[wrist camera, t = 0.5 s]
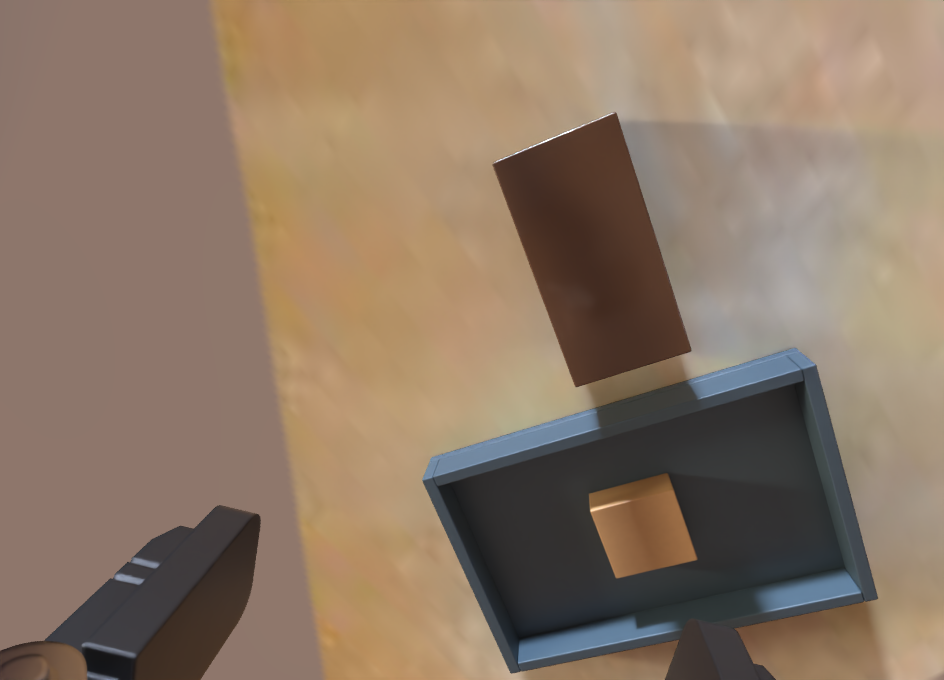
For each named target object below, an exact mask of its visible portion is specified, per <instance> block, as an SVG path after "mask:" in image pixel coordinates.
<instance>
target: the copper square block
mask: <svg viewBox="0 0 944 680" xmlns="http://www.w3.org/2000/svg"><path fill="white" fill-rule="evenodd" d="M589 502H590V512H591V515H592V517H593V520H594V522H595V525H596V528H597V530H598V533H599V535H600V538H601V541H602V543H603V546H604V548H605V551H606V553H607V556H608V559H609V561H610V564H611V566H612V569H613V572H614V574H615V577H616V578H622V577H626V576H630V575H635V574H639V573H643V572H647V571H652V570H656V569H660V568H665V567H669V566H673V565H678V564H682V563H686V562H691V561H695V560H697V555H696V553H695V550H694V547H693V544H692V541H691V538H690V535H689V532H688V529H687V526H686V524H685V521H684V518H683V515H682V512H681V509H680V506H679V503H678V500H677V498H676V495H675V492H674V489H673V486H672V483H671V480H670V477H669V474H668V473H664V474H661V475H657V476H653V477H649V478H646V479H642V480H638V481H635V482H631V483H627V484H623V485H620V486H616V487H612V488H608V489H605V490H601V491H597V492H594V493H590V494H589Z"/></svg>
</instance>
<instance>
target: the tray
mask: <svg viewBox="0 0 944 680" xmlns="http://www.w3.org/2000/svg"><path fill="white" fill-rule="evenodd" d="M664 473H668V474H669V477H670V480H671V483H672V486H673V489H674V492H675V495H676V498H677V500H678V503H679V506H680V509H681V512H682V515H683V518H684V521H685V524H686V526H687V529H688V532H689V535H690V538H691V541H692V544H693V547H694V550H695V553H696V555H697V560H695V561H691V562H686V563H682V564H678V565H673V566H669V567H665V568H660V569H656V570H652V571H647V572H643V573H639V574H635V575H630V576H626V577H622V578H616V577H615V574H614V572H613V569H612V566H611V564H610V561H609V559H608V556H607V553H606V551H605V548H604V546H603V543H602V541H601V538H600V535H599V533H598V530H597V528H596V525H595V522H594V520H593V517H592V515H591V512H590V502H589V494H590V493H594V492H597V491H601V490H605V489H608V488H612V487H616V486H620V485H623V484H627V483H631V482H635V481H638V480H642V479H646V478H649V477H653V476H657V475H661V474H664ZM422 481H423V483H424V485H425V487H426V490H427V492H428V494H429V496H430V498H431V501H432V503H433V505H434V507H435V509H436V511H437V514H438V516H439V518H440V520H441V522H442V525H443V527H444V529H445V531H446V533H447V535H448V538H449V540H450V542H451V544H452V546H453V549H454V551H455V553H456V555H457V557H458V559H459V562H460V564H461V566H462V568H463V570H464V573H465V575H466V577H467V579H468V581H469V584H470V586H471V588H472V590H473V592H474V594H475V597H476V599H477V601H478V603H479V605H480V608H481V610H482V612H483V614H484V616H485V618H486V621H487V623H488V625H489V627H490V629H491V632H492V634H493V636H494V638H495V640H496V642H497V645H498V647H499V649H500V651H501V653H502V656H503V658H504V660H505V662H506V664H507V666H508V669H509V671H510V673H517V672H520V671H527V670H532V669H537V668H541V667H546V666H551V665H556V664H561V663H566V662H571V661H576V660H581V659H586V658H591V657H596V656H601V655H606V654H610V653H615V652H620V651H625V650H630V649H635V648H640V647H645V646H650V645H655V644H660V643H665V642H670V641H674V640H679V639H680V637H681V634H682V631H683V628H684V626H685V624H686V622H687V621H688V620H689V619H692V618H693V619H697V620H702V621H706V622H710V623H714V624H719V625H723V626H727V627H731V628H739V627H743V626H748V625H753V624H758V623H763V622H768V621H773V620H778V619H783V618H788V617H793V616H798V615H803V614H807V613H812V612H817V611H822V610H827V609H832V608H837V607H842V606H847V605H852V604H857V603H862V602H864V601H871V600H876V599H878V596H877V592H876V589H875V585H874V581H873V577H872V573H871V570H870V566H869V562H868V558H867V555H866V551H865V547H864V543H863V540H862V536H861V532H860V528H859V525H858V521H857V517H856V513H855V509H854V506H853V502H852V498H851V494H850V491H849V487H848V483H847V479H846V476H845V472H844V468H843V464H842V460H841V457H840V453H839V449H838V445H837V442H836V438H835V434H834V430H833V427H832V423H831V419H830V415H829V411H828V408H827V404H826V400H825V396H824V393H823V389H822V385H821V381H820V378H819V374H818V370H817V366H816V364H814V363H813V362H812V361H811V360H810V359H808V358H807V357H806V356H805V355H804V354H802V353H801V352H800V351H799V350H798V349H796V348H793V349H790V350H786V351H783V352H780V353H776V354H773V355H770V356H767V357H763V358H760V359H757V360H753V361H750V362H747V363H743V364H740V365H737V366H733V367H730V368H727V369H723V370H720V371H717V372H713V373H710V374H707V375H704V376H700V377H697V378H694V379H690V380H687V381H684V382H680V383H677V384H674V385H670V386H667V387H664V388H660V389H657V390H654V391H650V392H647V393H644V394H640V395H637V396H634V397H631V398H627V399H624V400H621V401H617V402H614V403H611V404H607V405H604V406H601V407H597V408H594V409H591V410H587V411H584V412H581V413H577V414H574V415H571V416H568V417H564V418H561V419H558V420H554V421H551V422H548V423H544V424H541V425H538V426H534V427H531V428H528V429H524V430H521V431H518V432H514V433H511V434H508V435H505V436H501V437H498V438H495V439H491V440H488V441H485V442H481V443H478V444H475V445H471V446H468V447H465V448H461V449H458V450H455V451H451V452H448V453H445V454H442V455H438V456H435V457H432V458H431V459H430V463H429V465H428V467H427V469H426V472H425V474H424V477H423V479H422Z"/></svg>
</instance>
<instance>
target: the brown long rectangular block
mask: <svg viewBox="0 0 944 680" xmlns="http://www.w3.org/2000/svg"><path fill="white" fill-rule="evenodd" d="M492 165H493V167H494V170H495V173H496V175H497V178H498V181H499V184H500V186H501V189H502V192H503V194H504V197H505V200H506V202H507V205H508V208H509V210H510V213H511V216H512V218H513V221H514V224H515V226H516V229H517V232H518V235H519V237H520V240H521V243H522V245H523V248H524V251H525V253H526V256H527V259H528V261H529V264H530V267H531V269H532V272H533V275H534V277H535V280H536V283H537V285H538V288H539V291H540V294H541V296H542V299H543V302H544V304H545V307H546V310H547V312H548V315H549V318H550V320H551V323H552V326H553V328H554V331H555V334H556V336H557V339H558V342H559V345H560V347H561V350H562V353H563V355H564V358H565V361H566V363H567V366H568V369H569V371H570V374H571V377H572V379H573V382H574V385H575V387H579V386H582V385H585V384H588V383H591V382H595V381H598V380H601V379H604V378H607V377H611V376H614V375H617V374H620V373H624V372H627V371H630V370H633V369H636V368H640V367H643V366H646V365H649V364H652V363H656V362H659V361H662V360H665V359H668V358H672V357H675V356H678V355H681V354H684V353H688V352H690V351H691V347H690V344H689V340H688V337H687V334H686V331H685V328H684V325H683V321H682V318H681V315H680V312H679V309H678V306H677V303H676V299H675V296H674V293H673V290H672V287H671V284H670V280H669V277H668V274H667V271H666V268H665V265H664V262H663V258H662V255H661V252H660V249H659V246H658V243H657V239H656V236H655V233H654V230H653V227H652V224H651V221H650V217H649V214H648V211H647V208H646V205H645V202H644V198H643V195H642V192H641V189H640V186H639V183H638V180H637V176H636V173H635V170H634V167H633V164H632V161H631V157H630V154H629V151H628V148H627V145H626V142H625V139H624V135H623V132H622V129H621V126H620V123H619V120H618V116H617V113H616V112H613V113H611V114H608V115H606V116H604V117H601V118H599V119H596V120H594V121H591V122H589V123H587V124H584V125H582V126H579V127H577V128H575V129H572V130H570V131H567V132H565V133H563V134H560V135H558V136H555V137H553V138H551V139H548V140H546V141H543V142H541V143H539V144H536V145H534V146H531V147H529V148H527V149H524V150H522V151H519V152H517V153H515V154H512V155H510V156H507V157H505V158H503V159H500V160H498V161H495V162H493V164H492Z"/></svg>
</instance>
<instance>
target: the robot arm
mask: <svg viewBox="0 0 944 680" xmlns="http://www.w3.org/2000/svg"><path fill="white" fill-rule="evenodd" d="M260 521H261V520H260V516H259V515H258V514H255V513H251V512H247V511H242V510H238V509H234V508H230V507H226V506H221V505H219V506H217V507H215V508H214V509H213V510H212V511H211V512H210V513H209V514H208V515H207V516H206V517H205V518H204V519H203V520H202V521H201V522H200V523H199V524H198V526H196V527H195V528H194V529H192V528H188V527H184V526H179V527H177V528H174V529H172V530H170V531H168V532H166V533H164V534H162V535H160V536H158V537H156V538H154V539H152V540H151V541H150V542H149V543H147V545H146V546H144V547H143V548H142V549H141V550H140V551H139V552H138V553H137V554H136V555H135V556H134V557H133V558H132V560H131V562H130V563H129V562H127V563H126V564H125V565H124V566H123V567H122V568H121V569H120V570H119V571H118V572H117V573H116V574H115V576H114V578H113V579H109V580H108V581H107V582H106V583H105V584H104V585H103V586H102V587H101V588H100V589H99V590H98V591H97V592H95V593H94V594H93V595H92V596H91V597H90V598H89V599H88V600H87V601H86V602H85V603H84V604H83V605H82V606H80V607H79V608H78V609H77V610H76V611H75V612H74V613H73V614H72V615H71V616H70V617H69V618H68V619H67V620H66V621H65V622H64V623H63V624H61V625H60V626H59V627H58V628H57V629H56V630H55V631H54V632H53V633H52V634H51V635H50V636H49V637H48V638H46V639H45V641H37V642H36V641H35V642H30V643H24V644H19V645H16V646H12V647H10V648H7V649H4V650H1V651H0V680H200V679H201V678H202V676H203V675H204V673H205V672H206V670H207V669H208V667H209V665H210V664H211V663H212V661H213V660H214V658H215V657H216V655H217V654H218V652H219V651H220V649H221V648H222V646H223V644H224V643H225V641H226V640H227V638H228V637H229V635H230V634H231V632H232V631H233V629H234V628H235V626H236V625H237V623H238V621H239V620H240V618H241V616H242V614H243V611H244V610H245V607H246V605H247V602H248V599H249V596H250V593H251V588H252V583H253V576H254V568H255V560H256V554H257V546H258V539H259V532H260ZM665 680H776V679H775V678H774V677H773V676H772V675H771V674H770V673H769V672H768V671H767V669H766V668H765V667H764V666H762V665H757V664H753V662H752V660H751V658H750V656H749V654H748V652H747V650H746V647H745V645H744V643H743V641H742V639H741V637H740V635H739V634H738V632H737V631H736V630H735V629H734V628H731V627H727V626H723V625H719V624H714V623H710V622H706V621H702V620H697V619H693V618H692V619H689V620H688V621H687V622H686V624H685V626H684V628H683V631H682V634H681V637H680V639H679V642H678V645H677V648H676V651H675V653H674V656H673V659H672V662H671V665H670V667H669V670H668V673H667V676H666V678H665Z"/></svg>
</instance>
